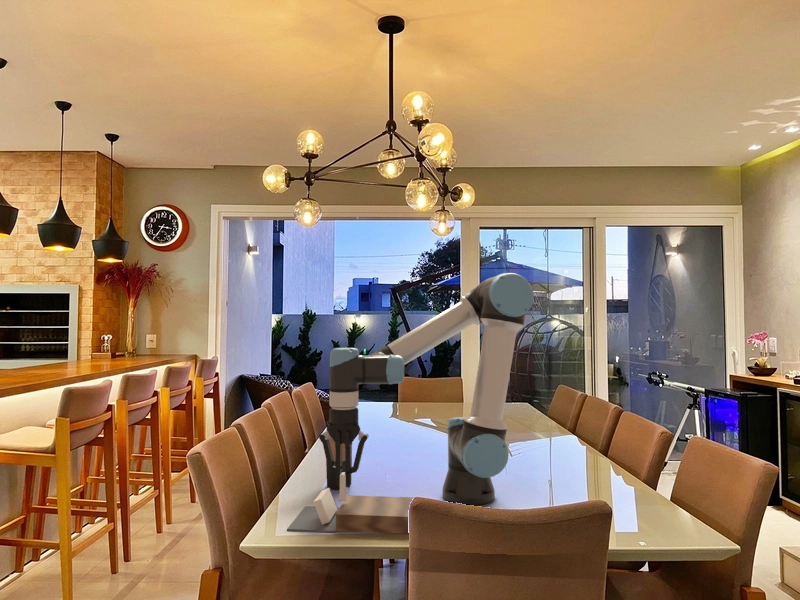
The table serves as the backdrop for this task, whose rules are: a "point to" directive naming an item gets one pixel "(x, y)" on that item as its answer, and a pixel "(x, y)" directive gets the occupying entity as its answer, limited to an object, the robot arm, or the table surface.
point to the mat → (312, 521)
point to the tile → (325, 506)
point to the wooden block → (374, 514)
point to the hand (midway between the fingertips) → (343, 499)
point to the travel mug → (331, 475)
